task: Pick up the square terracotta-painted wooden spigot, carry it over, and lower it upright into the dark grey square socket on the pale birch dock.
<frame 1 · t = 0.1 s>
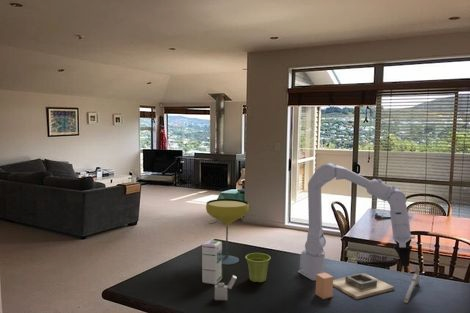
hand: (405, 262, 129), 11 cm above the kitchen counter, tool pointing down, fingers open, 7 cm apart
spigot dock: (360, 286, 133), on the kitchen counter
plant pot: (257, 280, 138), on the kitchen counter
lighter: (225, 299, 121), on the kitchen counter
caliper: (411, 293, 129), on the kitchen counter
cocktail glass: (226, 260, 157), on the kitchen counter
spigot: (323, 295, 125), on the kitchen counter
syrup box: (212, 281, 136), on the kitchen counter
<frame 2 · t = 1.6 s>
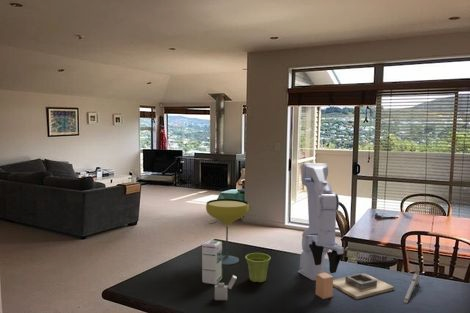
hand: (325, 268, 125), 9 cm above the kitchen counter, tool pointing down, fingers open, 7 cm apart
nothing on the kitchen counter moved.
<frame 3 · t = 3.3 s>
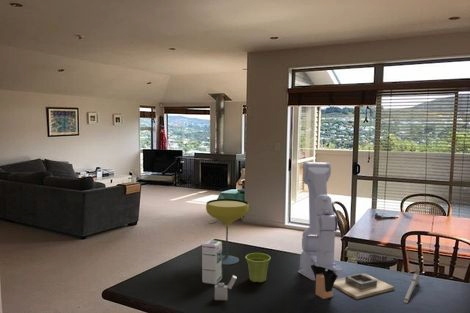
hand: (324, 288, 125), 2 cm above the kitchen counter, tool pointing down, fingers closed on spigot, 4 cm apart
spigot: (323, 295, 125), on the kitchen counter, touching gripper
everything else where it was.
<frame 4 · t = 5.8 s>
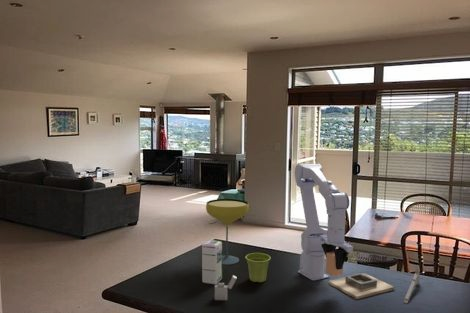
hand: (334, 266, 127), 9 cm above the kitchen counter, tool pointing down, fingers closed on spigot, 4 cm apart
spigot: (334, 273, 127), point 7 cm above the kitchen counter, touching gripper
everything else where it was.
when the fingers open (4 cm above the kitchen counter, at t = 8.5 s): spigot stays where it is, resting on spigot dock.
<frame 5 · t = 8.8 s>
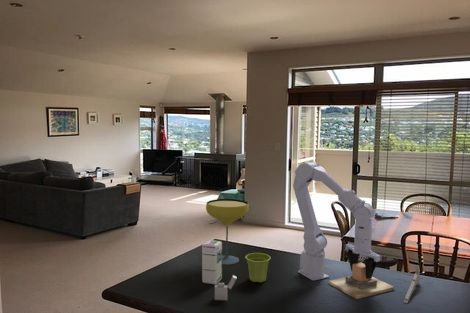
hand: (361, 274, 133), 4 cm above the kitchen counter, tool pointing down, fingers open, 6 cm apart
spigot: (360, 284, 133), point 1 cm above the kitchen counter, touching spigot dock
everything else where it was.
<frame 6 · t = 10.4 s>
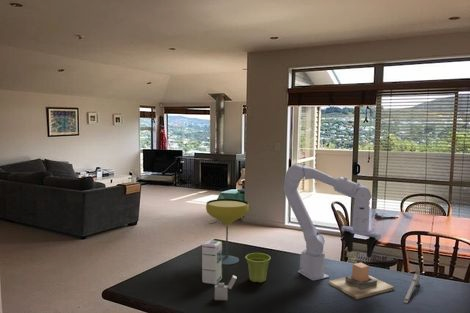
hand: (359, 254, 137), 10 cm above the kitchen counter, tool pointing down, fingers open, 7 cm apart
nothing on the kitchen counter moved.
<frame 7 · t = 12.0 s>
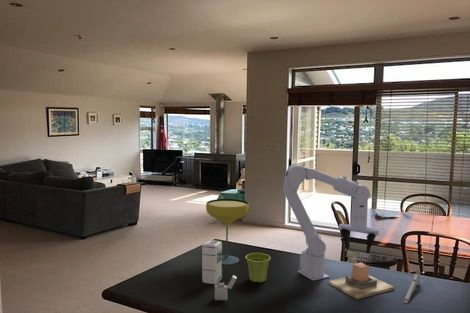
hand: (357, 250, 141), 10 cm above the kitchen counter, tool pointing down, fingers open, 7 cm apart
nothing on the kitchen counter moved.
at the end: spigot 0.4 cm off-centre on the spigot dock, point 1.0 cm above the spigot dock's base; spigot tilted 0°; the gripper is holding nothing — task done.
